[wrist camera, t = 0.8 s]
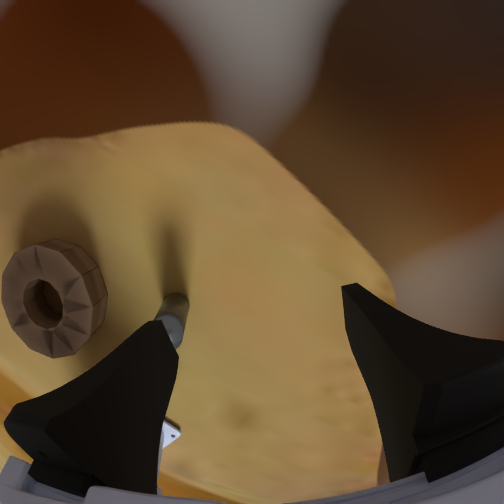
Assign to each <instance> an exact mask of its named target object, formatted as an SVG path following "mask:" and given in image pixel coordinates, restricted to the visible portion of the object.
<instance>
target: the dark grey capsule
mask: <svg viewBox="0 0 504 504" xmlns="http://www.w3.org/2000/svg"><path fill="white" fill-rule="evenodd" d="M188 311H189V302H188V300H187V298H186V297H185V296H184V295H182V294H180V293H171V294H169V295H167V296H166V298H165V299H164V301H163V303H162V305H161V307H160V309H159V311H158V313H157V315H156V317H155V319H154V320H162V322H163V324H164V326H165V328H166V331H167V333H168V335H169V337H170V339H171V341H172V343H173V346H174V348H175V349H177V348H178V347H179V346H180V344H181V342H182V339H183V334H184V329H185V325H186V320H187V315H188Z"/></svg>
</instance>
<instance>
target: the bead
mask: <svg viewBox="0 0 504 504" xmlns="http://www.w3.org/2000/svg"><path fill="white" fill-rule="evenodd" d="M44 281H47V282H49V283H50V284H51V285H52V286H53V287H54V288H55V289H56V290H57V291H58V293H59V296H60V298H61V301H62V304H63V314H60V313H58V312H55V311H54V310H53V309H52V308H51V307H50V306H49V305H48V304H47V301H46V298H45V296H44V293H43V289H44ZM107 296H108V293H107V290H106V287H105V284H104V281H103V278H102V275H101V272H100V269H99V267H98V265H97V264H96V263H95V262H94V261H93V260H92V259H91V258H90V257H89V256H88V255H87V254H86V253H85V252H84V250H83V249H82V248H81V247H80V246H78V245H74V244H71V243H67V242H64V241H60V240H57V239H56V240H51V241H47V242H43V243H38V244H35V245H32V246H30V247H27V248H25V249H22V250H20V251H18V252H15V253H14V254H13V256H12V258H11V260H10V261H9V263H8V265H7V267H6V268H5V270H4V272H3V275H2V304H3V307H4V310H5V312H6V315H7V318H8V320H9V323H10V325H11V328H12V329H13V330H14V332H15V333H16V334H17V335H18V336H19V337H20V338H21V339H22V341H23V342H24V343H25V344H26V345H27V346H28V347H29V348H31V350H34V351H36V352H38V353H41V354H43V355H46V356H48V357H50V358H59V357H65V356H70V355H75V354H76V353H77V352H78V351H79V349H80V348H81V347H82V346H83V345H84V344H85V342H86V341H87V340H88V339H89V338H90V337H91V336H92V334H93V333H94V332H95V331H96V329H97V328H98V327H99V326H100V325H101V323H102V322H103V321H104V319H105V311H106V303H107Z"/></svg>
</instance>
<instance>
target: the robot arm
mask: <svg viewBox="0 0 504 504" xmlns="http://www.w3.org/2000/svg"><path fill="white" fill-rule="evenodd" d="M341 288H342V297H343V307H344V318H345V329H346V332H347V336H348V340H349V343H350V346H351V350H352V352H353V355H354V357H355V359H356V362H357V364H358V367H359V369H360V371H361V374H362V376H363V378H364V381H365V383H366V386H367V388H368V390H369V393H370V396H371V399H372V402H373V405H374V409H375V413H376V416H377V420H378V424H379V429H380V433H381V437H382V442H383V446H384V451H385V456H386V462H387V467H388V473H389V479H390V483H387V484H384V485H380V486H377V487H373V488H369V489H365V490H361V491H357V492H352V493H348V494H343V495H338V496H333V497H328V498H322V499H315V500H309V501H301V502H293V503H284V504H504V341H501V340H491V339H481V338H474V337H469V336H465V335H460V334H455V333H452V332H448V331H445V330H442V329H439V328H436V327H433V326H430V325H428V324H425V323H423V322H421V321H419V320H416V319H414V318H412V317H410V316H408V315H406V314H404V313H402V312H401V311H399V310H397V309H395V308H393V307H392V306H390V305H389V304H387V303H385V302H384V301H382V300H381V299H379V298H378V297H376V296H375V295H373V294H372V293H371V292H369V291H368V290H366V289H365V288H364V287H362V286H361V285H359V284H358V283H353V284H349V285H344V286H341ZM178 360H179V356H178V354H177V352H176V350H175V348H174V346H173V343H172V341H171V339H170V337H169V335H168V333H167V331H166V328H165V326H164V324H163V322H162V320H154V321H148V322H147V323H145V324H144V325H143V326H141V327H140V328H139V329H138V330H136V331H135V332H134V333H133V334H132V335H131V336H130V337H128V338H127V339H126V340H125V341H124V342H123V343H122V344H120V345H119V346H118V347H117V348H116V349H115V350H114V351H112V352H111V353H110V354H109V355H107V356H106V357H105V358H104V359H103V360H101V361H100V362H99V363H98V364H96V365H95V366H94V367H92V368H91V369H89V370H88V371H86V372H85V373H83V374H82V375H80V376H79V377H77V378H75V379H74V380H72V381H70V382H68V383H67V384H65V385H63V386H61V387H59V388H57V389H55V390H53V391H51V392H49V393H46V394H44V395H42V396H39V397H36V398H33V399H30V400H27V401H24V402H21V403H17V404H16V405H15V406H14V407H13V409H12V410H11V412H10V413H9V415H8V416H7V418H6V419H5V421H4V426H5V429H6V431H7V432H8V434H9V435H10V436H11V438H12V439H13V440H14V441H15V442H16V443H17V444H18V445H19V446H20V447H21V448H22V449H23V450H24V451H25V452H26V453H27V454H28V455H29V456H30V457H31V458H32V459H34V461H33V463H32V465H31V464H29V463H28V462H26V461H24V460H21V459H19V458H16V457H14V456H9V458H8V460H7V462H6V464H5V466H4V468H3V470H2V472H1V474H0V504H228V503H223V502H219V501H214V500H205V499H196V498H184V497H172V496H162V489H160V488H158V487H157V483H158V476H159V469H160V462H161V456H162V449H163V448H165V447H166V446H167V445H169V444H170V443H171V442H173V441H174V440H175V439H177V438H178V437H179V436H180V435H181V431H180V430H179V429H177V428H176V427H174V426H173V425H171V424H170V423H168V422H167V421H165V420H164V418H165V415H166V411H167V408H168V404H169V401H170V397H171V394H172V391H173V387H174V384H175V380H176V375H177V369H178ZM172 434H173V435H175V436H173V435H172Z"/></svg>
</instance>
